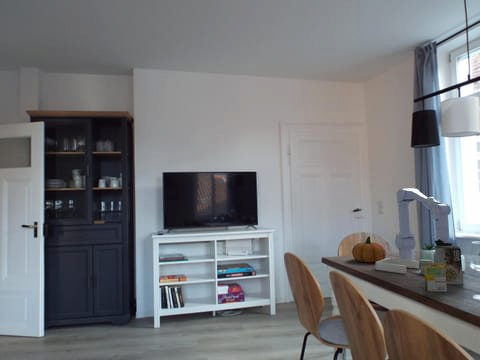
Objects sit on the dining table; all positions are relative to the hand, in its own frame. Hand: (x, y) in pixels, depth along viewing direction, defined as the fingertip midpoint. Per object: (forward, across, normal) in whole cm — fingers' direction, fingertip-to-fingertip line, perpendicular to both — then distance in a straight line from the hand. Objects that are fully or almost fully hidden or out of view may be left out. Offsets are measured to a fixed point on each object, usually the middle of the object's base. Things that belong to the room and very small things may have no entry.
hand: (443, 256), depth 164 cm
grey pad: (+9, -4, -7) cm, 12 cm away
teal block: (+9, -4, -7) cm, 12 cm away
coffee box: (+10, +15, -1) cm, 18 cm away
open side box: (+9, -10, -19) cm, 24 cm away
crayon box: (+10, +31, -10) cm, 34 cm away
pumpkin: (+10, -32, -34) cm, 48 cm away
